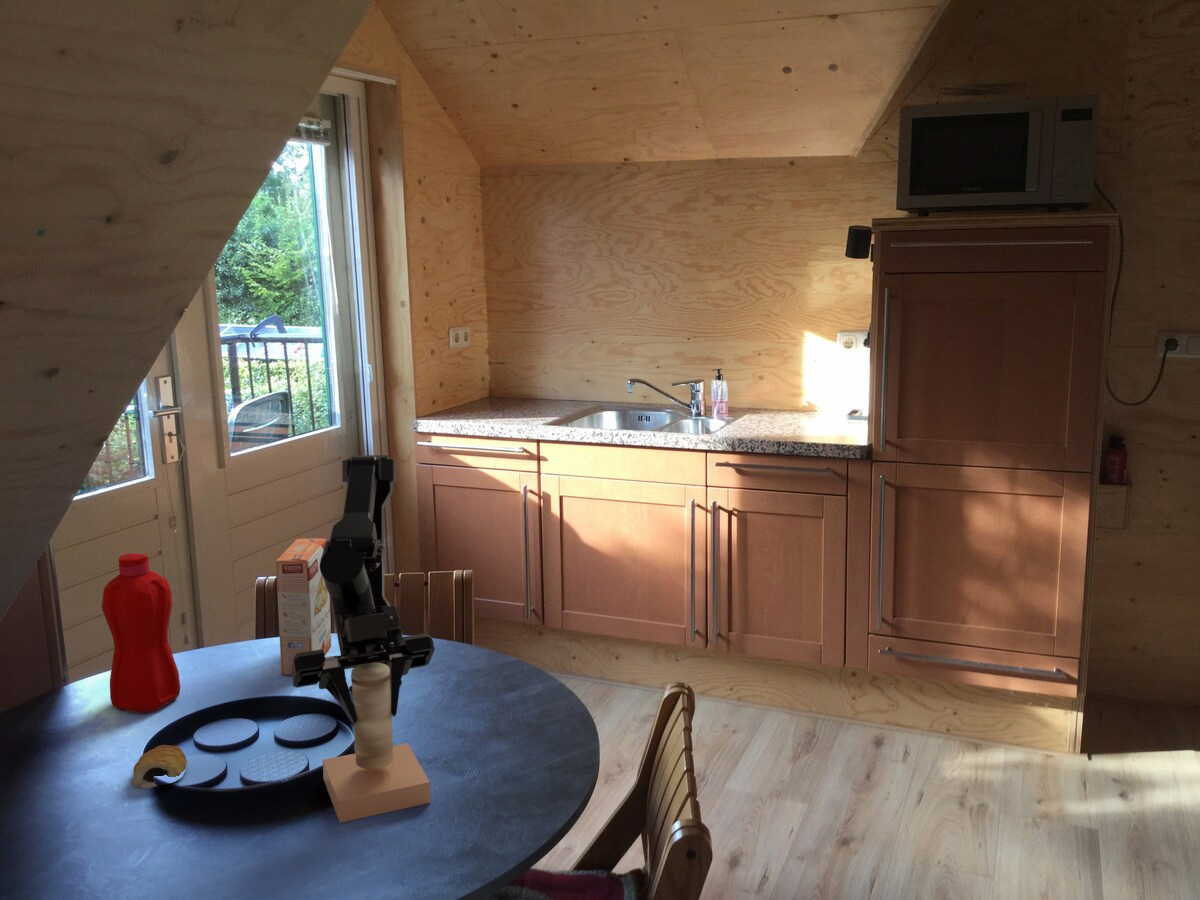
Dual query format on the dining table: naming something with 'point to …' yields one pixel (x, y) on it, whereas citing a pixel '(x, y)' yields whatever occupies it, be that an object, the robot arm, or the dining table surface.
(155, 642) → the red bottle
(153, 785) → the pastry
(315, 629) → the cracker box
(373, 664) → the birch column
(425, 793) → the terracotta plinth
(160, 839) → the dining table surface
